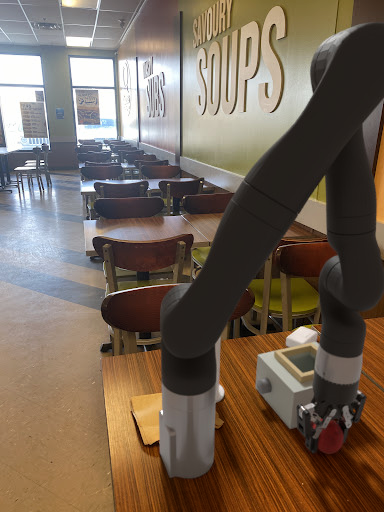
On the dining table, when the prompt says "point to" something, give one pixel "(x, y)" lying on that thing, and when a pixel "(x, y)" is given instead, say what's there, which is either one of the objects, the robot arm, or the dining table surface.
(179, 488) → the dining table surface
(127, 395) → the dining table surface
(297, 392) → the box
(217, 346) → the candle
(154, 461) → the dining table surface
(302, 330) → the soap
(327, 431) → the onion
